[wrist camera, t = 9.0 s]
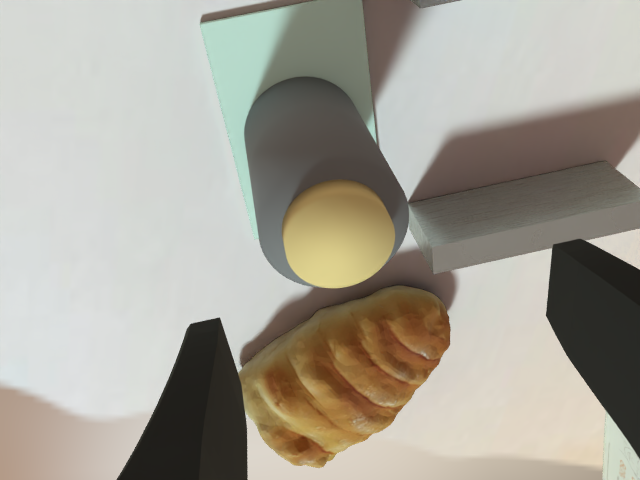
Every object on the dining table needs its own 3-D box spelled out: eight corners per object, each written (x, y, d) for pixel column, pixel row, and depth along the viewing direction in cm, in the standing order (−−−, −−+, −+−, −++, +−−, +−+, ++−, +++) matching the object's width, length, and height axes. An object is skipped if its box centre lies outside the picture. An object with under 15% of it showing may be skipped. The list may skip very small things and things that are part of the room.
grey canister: (349, 63, 20) (409, 154, 14) (367, 169, 22) (425, 284, 16) (229, 93, 20) (241, 197, 14) (260, 197, 22) (281, 321, 16)
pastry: (384, 240, 24) (412, 300, 21) (471, 322, 28) (505, 384, 25) (220, 369, 27) (224, 440, 24) (319, 430, 30) (333, 499, 27)
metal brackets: (654, -186, 17) (730, -189, 15) (602, 187, 24) (647, 226, 22) (382, -136, 17) (413, -130, 14) (409, 228, 24) (433, 274, 22)
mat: (359, -9, 19) (361, -8, 18) (382, 208, 23) (383, 211, 23) (199, 22, 18) (199, 24, 18) (254, 236, 23) (254, 239, 23)
